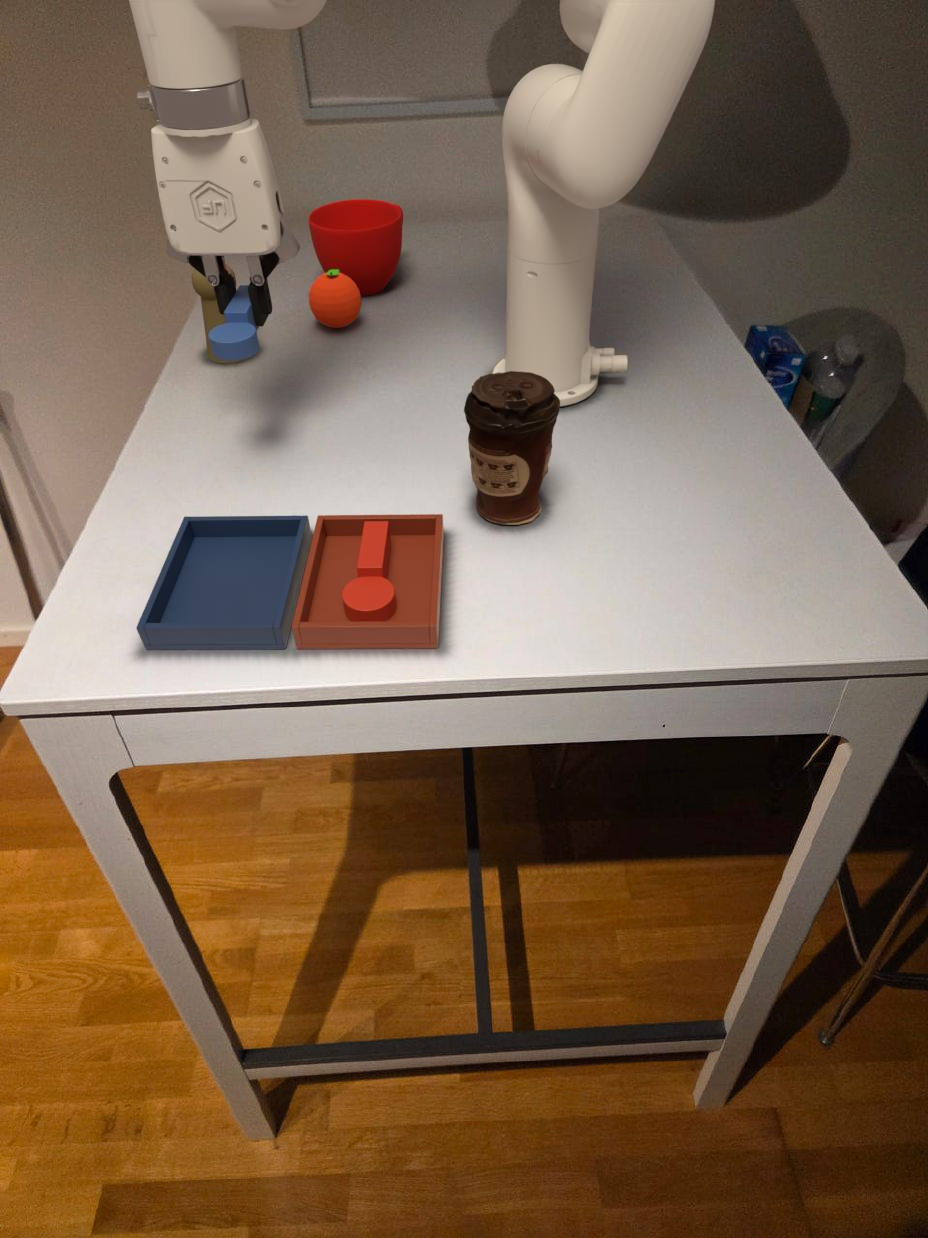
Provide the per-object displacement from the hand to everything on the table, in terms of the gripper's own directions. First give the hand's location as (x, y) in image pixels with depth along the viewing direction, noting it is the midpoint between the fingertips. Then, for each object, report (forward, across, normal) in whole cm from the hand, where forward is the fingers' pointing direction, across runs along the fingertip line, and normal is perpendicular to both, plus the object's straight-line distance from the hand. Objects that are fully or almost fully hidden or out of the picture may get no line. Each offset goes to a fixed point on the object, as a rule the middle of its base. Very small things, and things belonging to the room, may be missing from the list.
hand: (248, 319), depth 79 cm
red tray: (+13, +14, -25) cm, 32 cm away
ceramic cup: (+13, +6, +42) cm, 45 cm away
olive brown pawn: (+13, -10, +20) cm, 26 cm away
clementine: (+13, +3, +28) cm, 31 cm away
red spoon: (+13, +14, -25) cm, 32 cm away
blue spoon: (+1, 0, -2) cm, 3 cm away
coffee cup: (+13, +26, -13) cm, 32 cm away
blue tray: (+13, +2, -25) cm, 29 cm away
